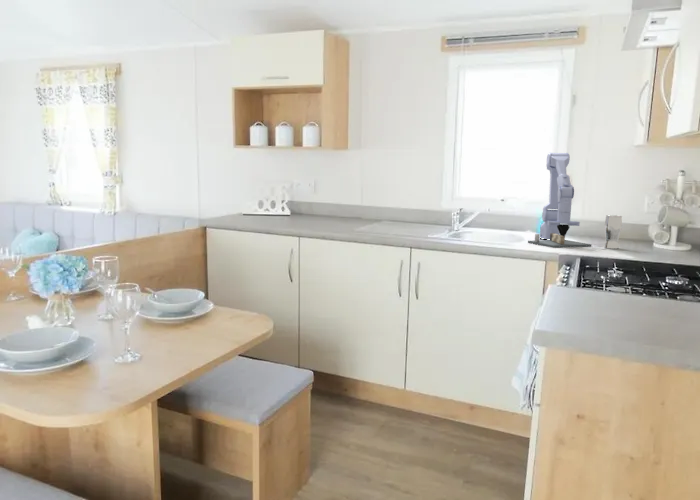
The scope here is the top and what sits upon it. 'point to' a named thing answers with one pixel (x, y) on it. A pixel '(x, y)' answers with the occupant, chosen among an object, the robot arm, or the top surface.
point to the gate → (557, 238)
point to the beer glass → (612, 231)
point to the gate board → (557, 245)
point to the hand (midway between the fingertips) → (562, 240)
